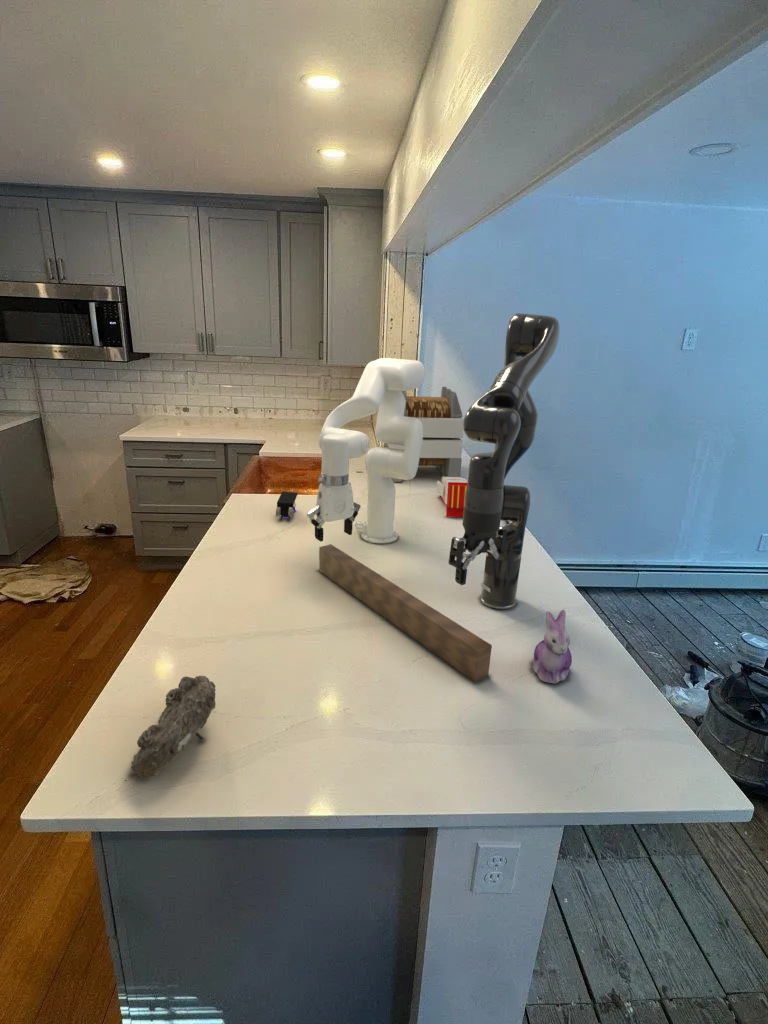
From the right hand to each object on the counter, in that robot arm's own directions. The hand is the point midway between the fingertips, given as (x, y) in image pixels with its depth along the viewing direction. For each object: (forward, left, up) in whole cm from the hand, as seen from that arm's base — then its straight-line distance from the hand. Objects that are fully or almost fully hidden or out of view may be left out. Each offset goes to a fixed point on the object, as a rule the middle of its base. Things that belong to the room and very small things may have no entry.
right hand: (475, 578), depth 119 cm
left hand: (-27, -47, -10) cm, 55 cm away
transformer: (-145, -62, -22) cm, 159 cm away
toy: (-106, -34, -22) cm, 113 cm away
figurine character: (-63, -86, -22) cm, 109 cm away
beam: (-14, -24, -22) cm, 35 cm away
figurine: (-7, +18, -22) cm, 29 cm away
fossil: (+44, -41, -22) cm, 64 cm away
